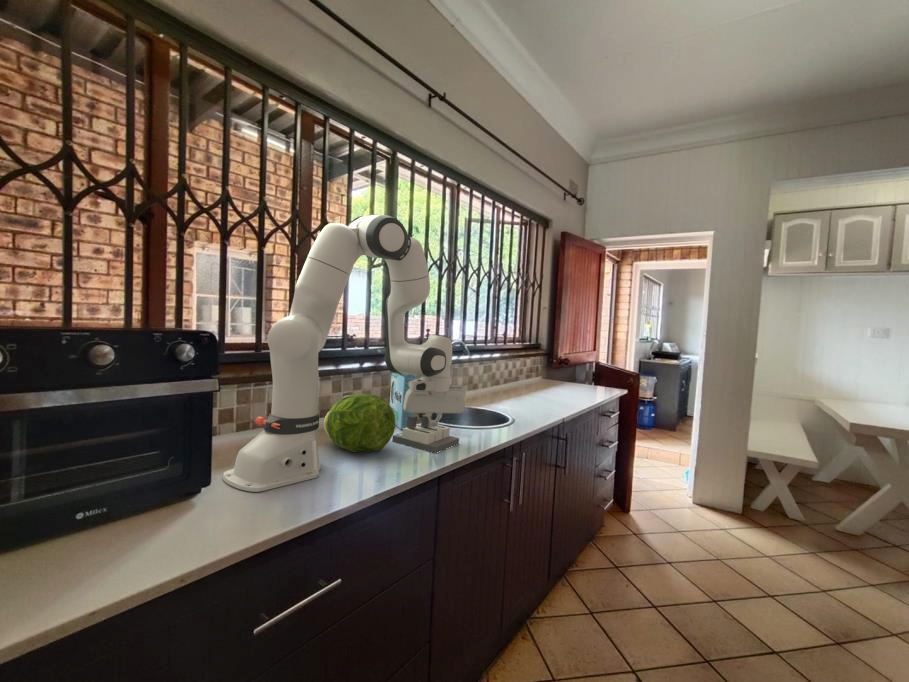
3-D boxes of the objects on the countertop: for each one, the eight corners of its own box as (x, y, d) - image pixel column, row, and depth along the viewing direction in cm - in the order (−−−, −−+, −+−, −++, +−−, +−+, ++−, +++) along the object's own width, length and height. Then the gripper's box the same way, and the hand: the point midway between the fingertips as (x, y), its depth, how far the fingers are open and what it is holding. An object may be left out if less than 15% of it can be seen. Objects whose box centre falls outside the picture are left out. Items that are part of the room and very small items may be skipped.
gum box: (413, 430, 148) (418, 368, 147) (399, 430, 146) (404, 367, 145) (399, 417, 166) (404, 361, 165) (387, 417, 164) (391, 361, 163)
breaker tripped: (425, 427, 132) (426, 416, 132) (420, 426, 134) (421, 415, 133) (430, 426, 135) (430, 415, 134) (425, 425, 136) (425, 414, 135)
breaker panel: (435, 453, 124) (436, 437, 123) (392, 441, 132) (393, 426, 132) (458, 444, 136) (459, 429, 135) (417, 433, 144) (418, 419, 144)
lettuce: (351, 436, 136) (341, 387, 134) (408, 439, 125) (399, 386, 122) (312, 459, 121) (300, 404, 118) (373, 465, 110) (361, 405, 107)
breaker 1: (411, 428, 130) (412, 417, 130) (406, 427, 131) (407, 416, 131) (416, 427, 132) (417, 416, 132) (411, 426, 133) (412, 415, 133)
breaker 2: (427, 423, 138) (428, 413, 137) (423, 422, 139) (423, 412, 138) (431, 422, 140) (432, 412, 139) (427, 421, 141) (427, 411, 140)
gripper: (463, 383, 138) (459, 423, 139) (404, 381, 132) (400, 423, 132) (469, 386, 132) (466, 428, 133) (407, 385, 126) (404, 428, 126)
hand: (433, 426), depth 132 cm, fingers closed
